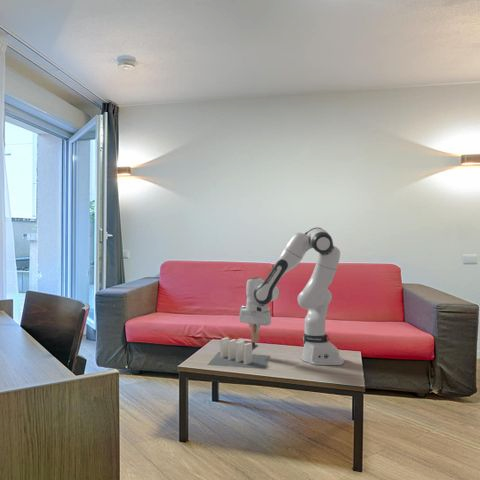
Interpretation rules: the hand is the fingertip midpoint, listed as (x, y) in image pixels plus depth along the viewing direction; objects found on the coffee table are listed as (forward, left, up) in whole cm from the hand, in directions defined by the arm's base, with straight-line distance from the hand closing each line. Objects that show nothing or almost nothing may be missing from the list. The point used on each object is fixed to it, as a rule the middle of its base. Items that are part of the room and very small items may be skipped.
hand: (254, 331), depth 210 cm
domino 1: (+16, +4, -14) cm, 21 cm away
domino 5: (0, 0, -5) cm, 5 cm away
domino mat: (+7, +8, -14) cm, 17 cm away
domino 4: (+2, +12, -14) cm, 18 cm away
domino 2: (+11, +7, -14) cm, 19 cm away
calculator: (+10, -18, -15) cm, 25 cm away
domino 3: (+7, +10, -14) cm, 18 cm away
